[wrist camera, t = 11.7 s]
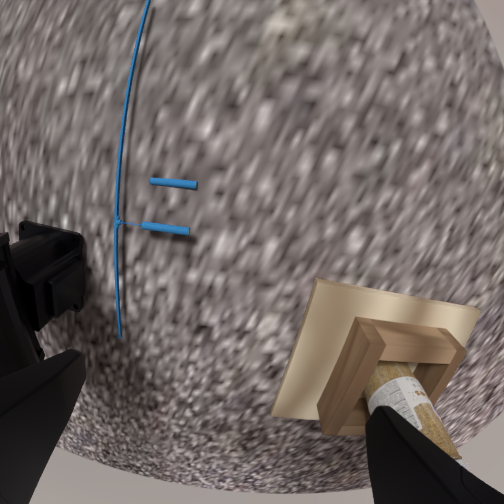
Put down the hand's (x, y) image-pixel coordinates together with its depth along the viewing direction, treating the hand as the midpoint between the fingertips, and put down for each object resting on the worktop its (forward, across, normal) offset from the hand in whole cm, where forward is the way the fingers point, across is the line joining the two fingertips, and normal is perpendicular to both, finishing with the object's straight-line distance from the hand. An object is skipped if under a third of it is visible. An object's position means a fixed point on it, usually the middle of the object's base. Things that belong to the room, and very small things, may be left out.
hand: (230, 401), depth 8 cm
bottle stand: (+13, -13, +7) cm, 20 cm away
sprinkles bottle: (+12, -13, +7) cm, 19 cm away
